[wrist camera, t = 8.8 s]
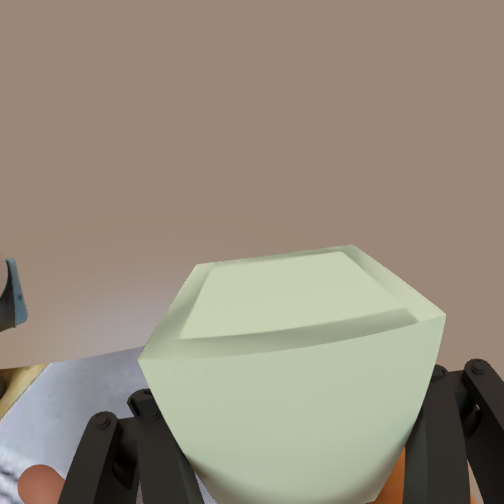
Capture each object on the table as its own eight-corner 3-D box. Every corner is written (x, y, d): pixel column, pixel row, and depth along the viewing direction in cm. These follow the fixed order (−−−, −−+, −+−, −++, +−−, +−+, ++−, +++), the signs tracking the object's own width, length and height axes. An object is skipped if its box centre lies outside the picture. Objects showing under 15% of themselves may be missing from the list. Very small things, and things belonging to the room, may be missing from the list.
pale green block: (236, 427, 15) (196, 264, 12) (345, 412, 15) (352, 244, 12) (230, 520, 8) (137, 358, 5) (374, 500, 8) (446, 314, 5)
